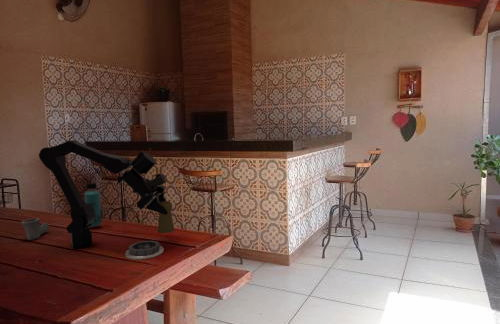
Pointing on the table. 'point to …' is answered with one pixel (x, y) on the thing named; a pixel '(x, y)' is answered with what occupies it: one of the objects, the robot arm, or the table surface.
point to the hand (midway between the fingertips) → (168, 212)
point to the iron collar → (144, 250)
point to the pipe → (34, 228)
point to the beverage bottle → (94, 202)
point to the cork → (166, 219)
